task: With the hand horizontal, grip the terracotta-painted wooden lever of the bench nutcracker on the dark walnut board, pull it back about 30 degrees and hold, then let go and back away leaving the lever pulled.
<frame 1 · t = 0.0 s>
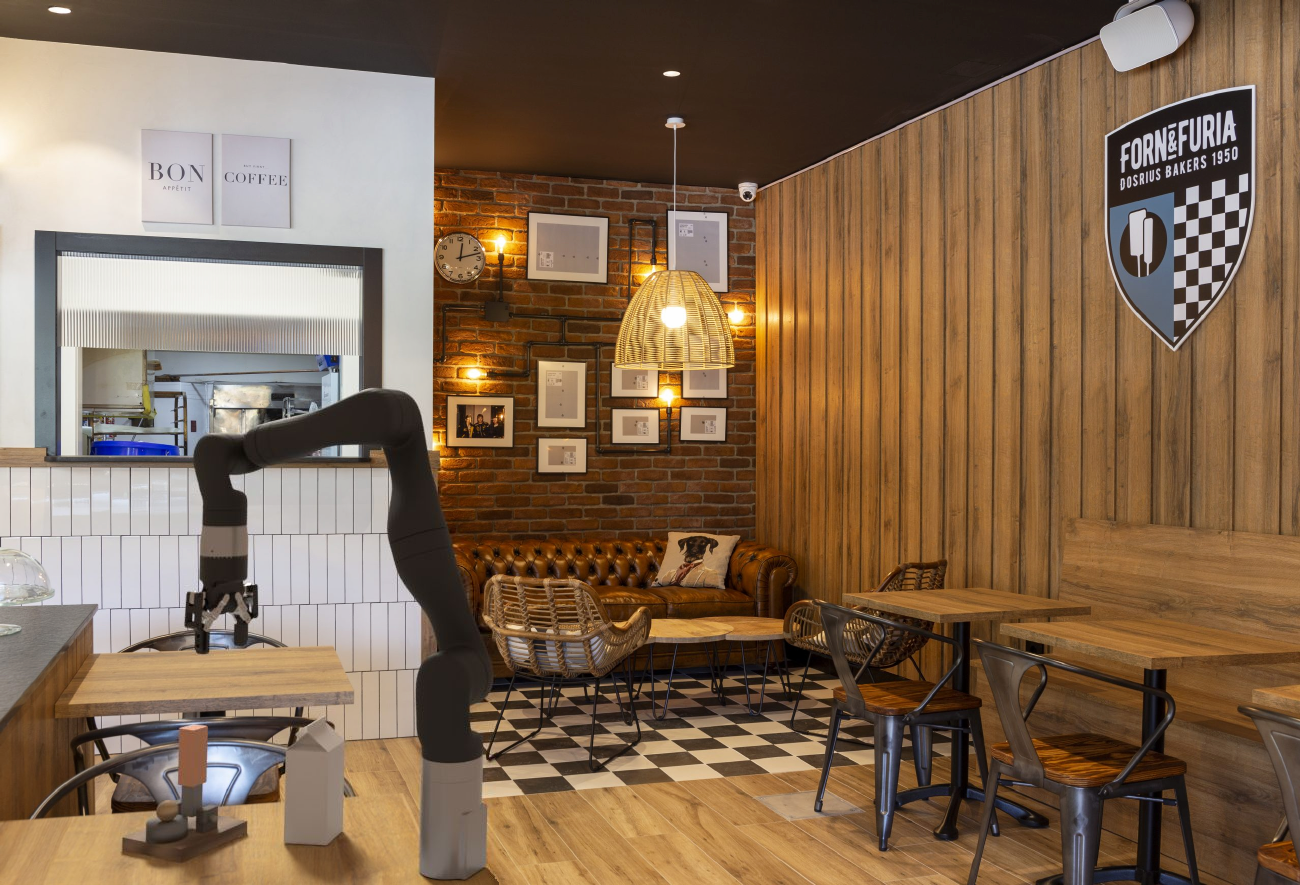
hand: (221, 649, 182), 29 cm above the table, tool pointing down, fingers open, 8 cm apart
milk carton: (313, 839, 177), on the table
lever: (192, 770, 175), point 11 cm above the table, hinge at 0.0°
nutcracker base: (186, 841, 174), on the table
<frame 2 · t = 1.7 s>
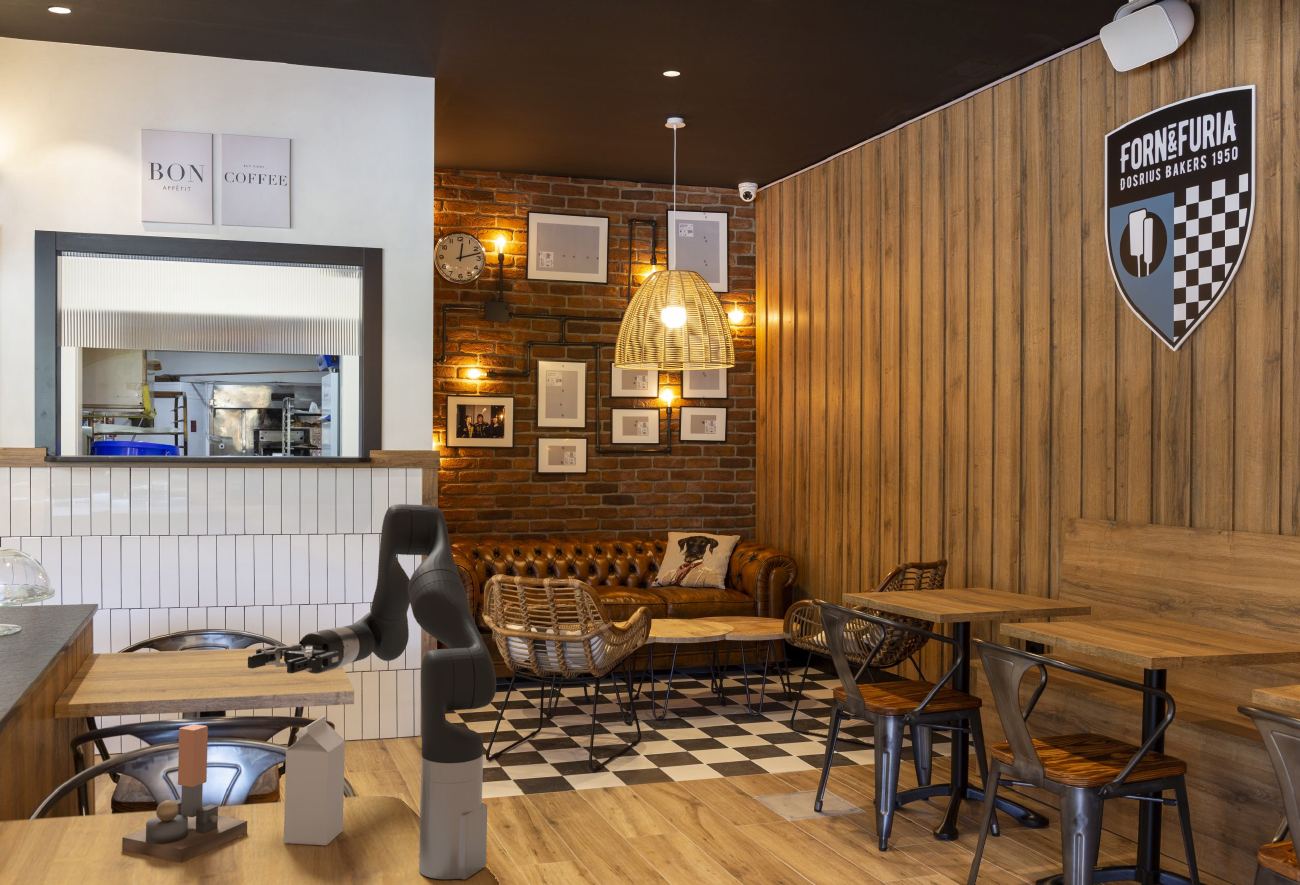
hand: (268, 665, 189), 26 cm above the table, tool horizontal, fingers open, 8 cm apart
nothing on the table moved.
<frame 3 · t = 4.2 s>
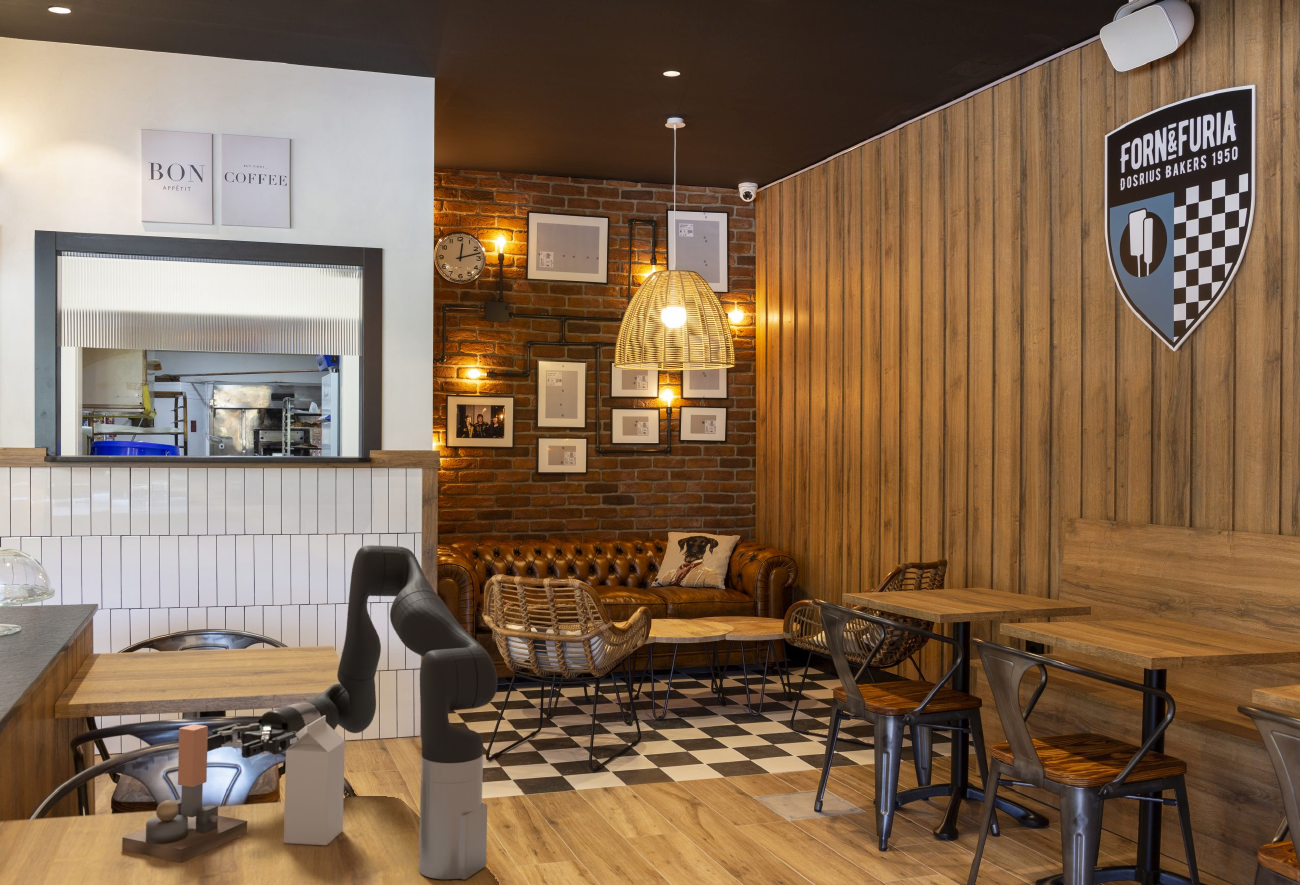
hand: (223, 748, 181), 13 cm above the table, tool horizontal, fingers open, 8 cm apart
nothing on the table moved.
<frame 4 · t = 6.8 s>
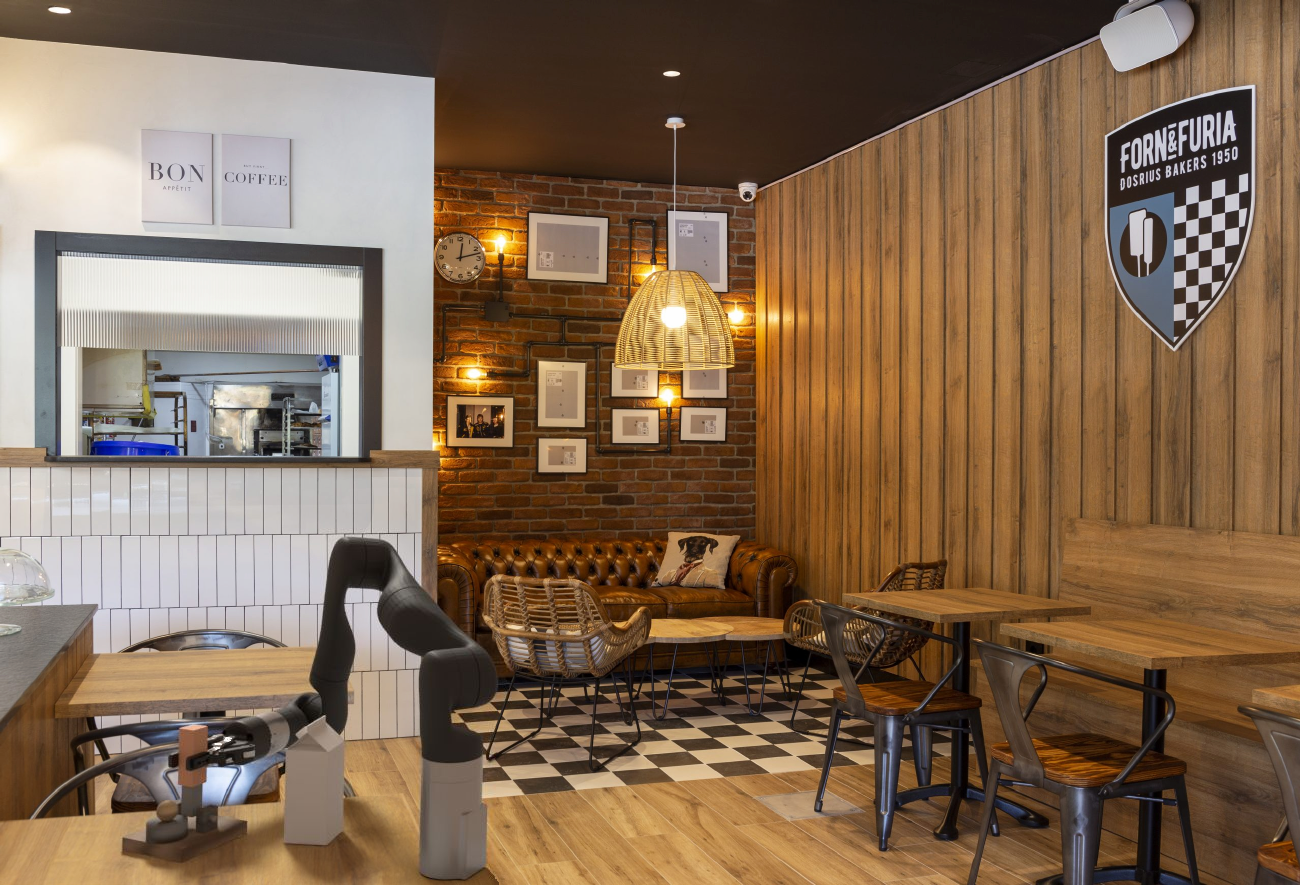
hand: (179, 763, 173), 13 cm above the table, tool horizontal, fingers closed on lever, 3 cm apart
lever: (192, 770, 175), point 11 cm above the table, hinge at 0.0°, touching gripper
everything else where it was.
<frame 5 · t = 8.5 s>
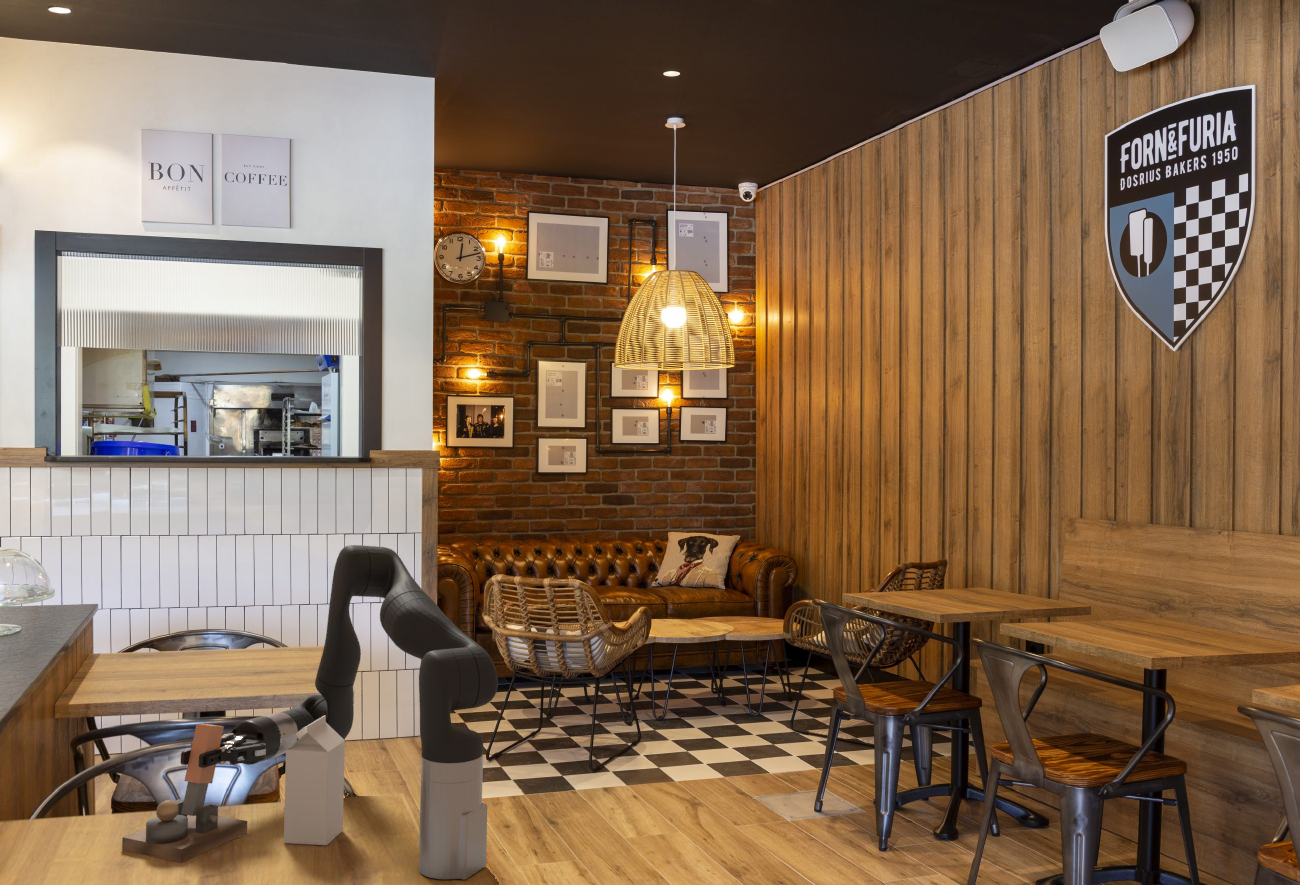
hand: (191, 759, 175), 13 cm above the table, tool horizontal, fingers closed on lever, 3 cm apart
lever: (201, 769, 177), point 11 cm above the table, hinge at 15.0°, touching gripper
everything else where it was.
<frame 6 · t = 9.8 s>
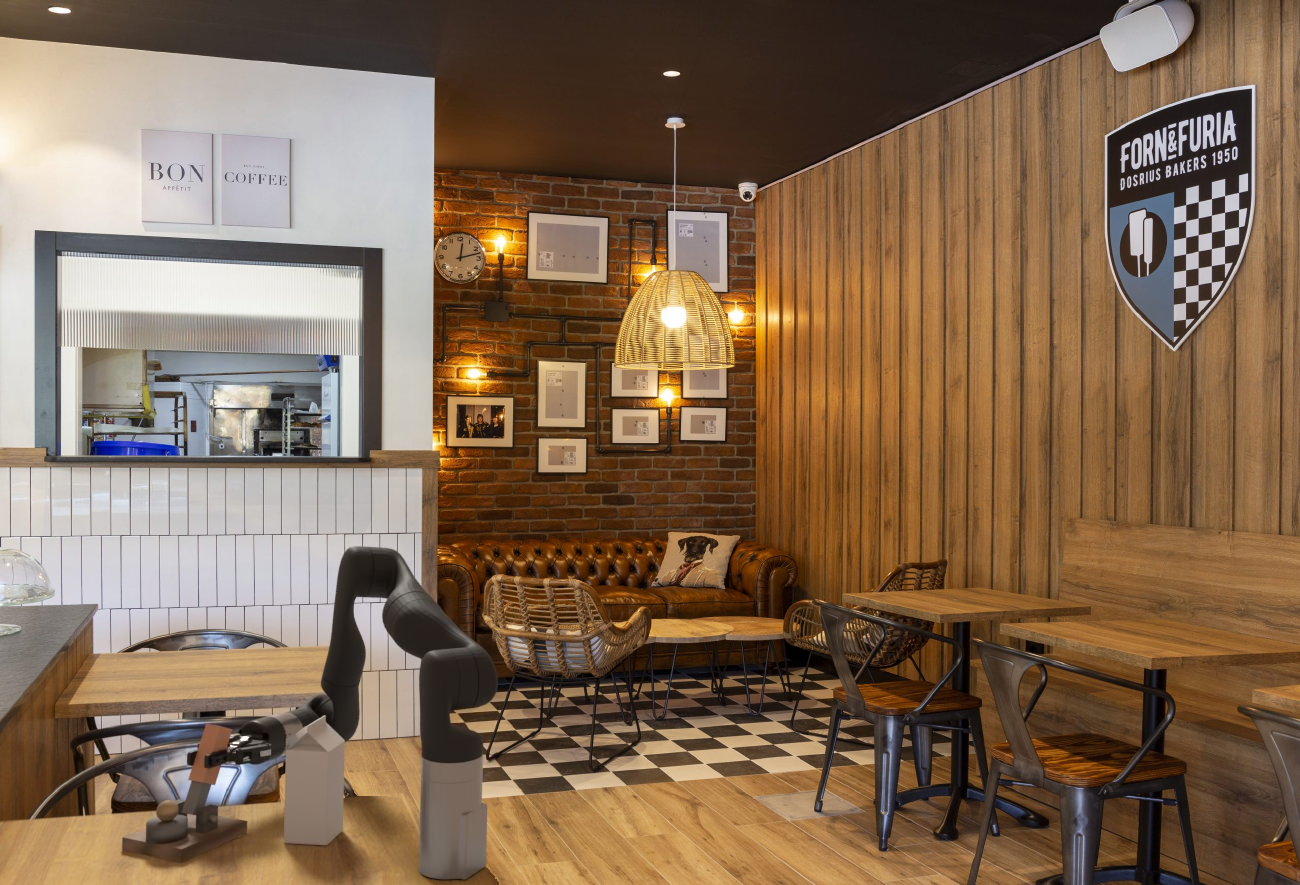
hand: (197, 760, 176), 12 cm above the table, tool horizontal, fingers closed on lever, 3 cm apart
lever: (205, 770, 178), point 10 cm above the table, hinge at 23.8°, touching gripper
everything else where it was.
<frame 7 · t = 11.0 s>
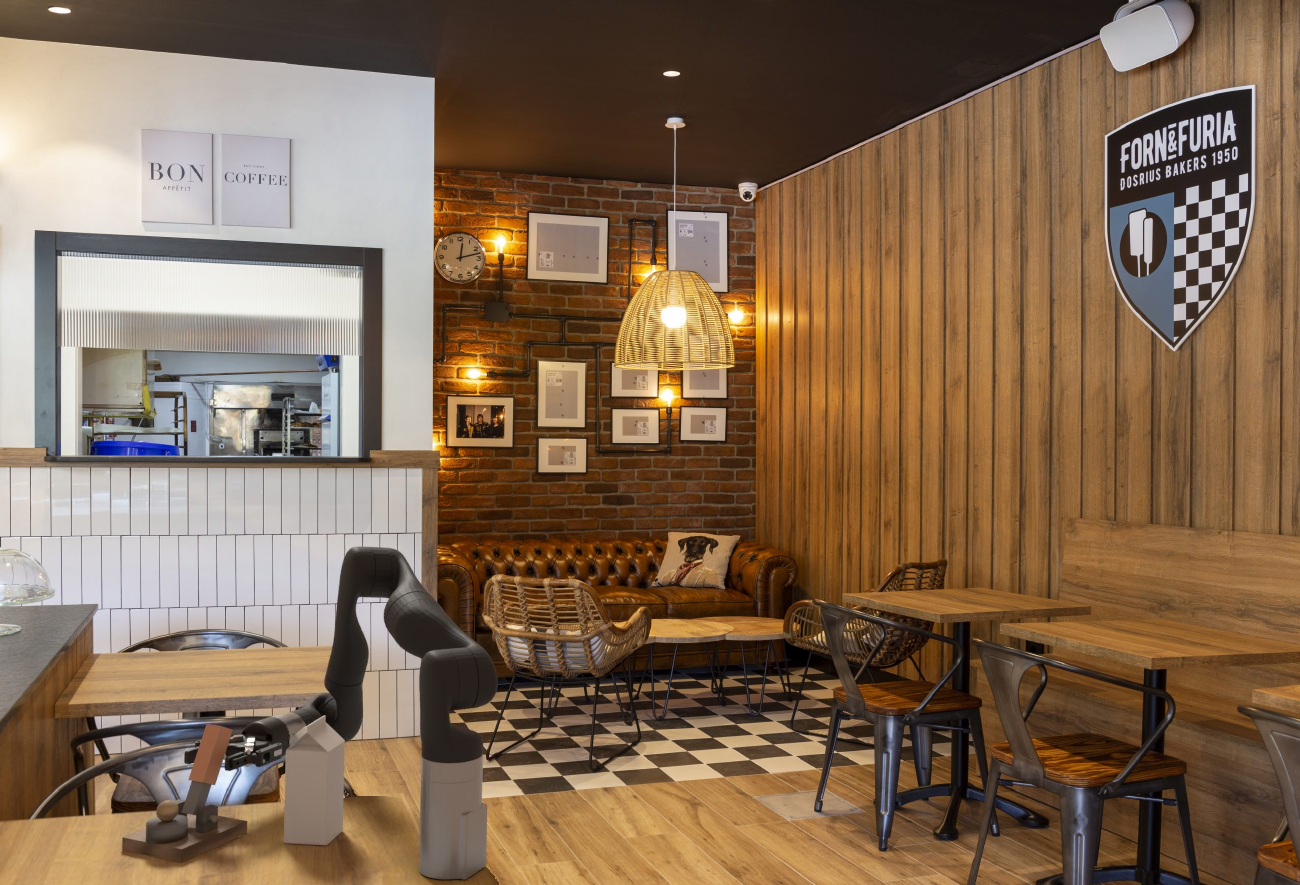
hand: (206, 761, 178), 12 cm above the table, tool horizontal, fingers open, 8 cm apart
lever: (205, 770, 178), point 10 cm above the table, hinge at 24.2°
everything else where it was.
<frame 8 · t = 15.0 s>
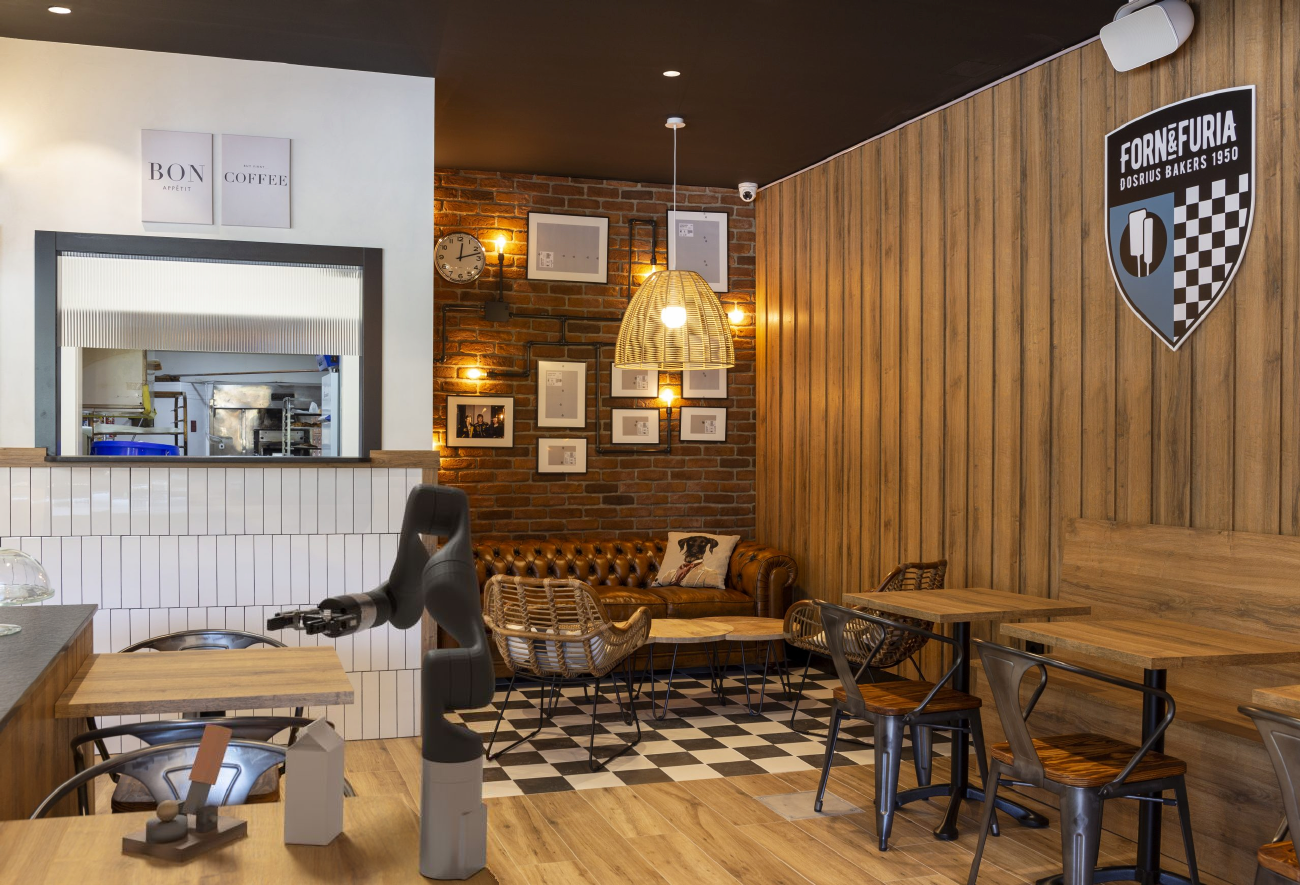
hand: (287, 627, 190), 32 cm above the table, tool horizontal, fingers open, 8 cm apart
nothing on the table moved.
at the end: lever at +24° (first picture: +0°); the gripper is holding nothing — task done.
